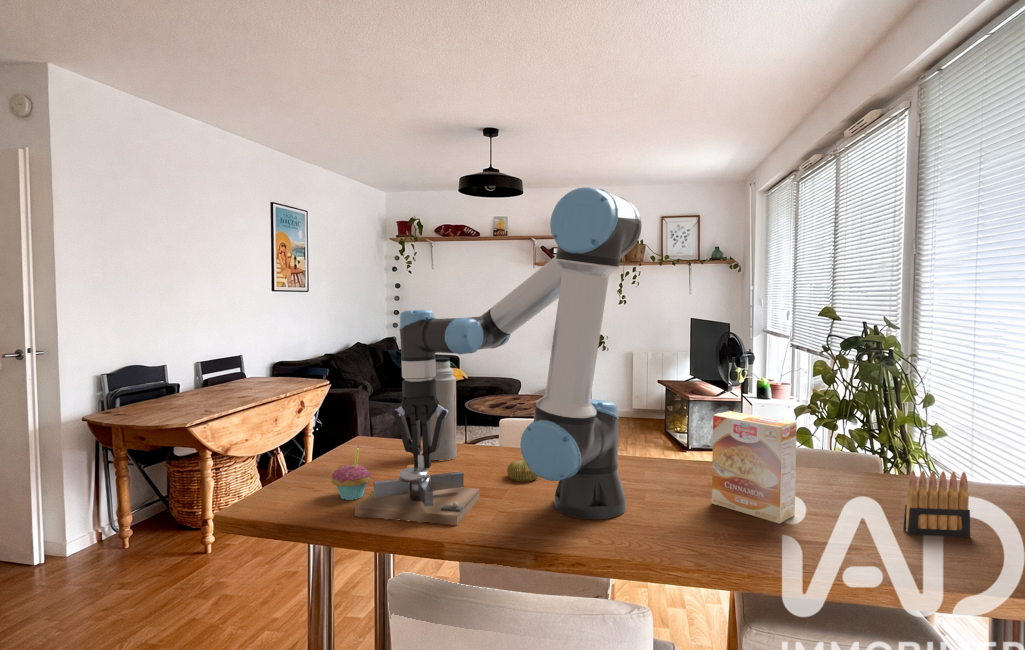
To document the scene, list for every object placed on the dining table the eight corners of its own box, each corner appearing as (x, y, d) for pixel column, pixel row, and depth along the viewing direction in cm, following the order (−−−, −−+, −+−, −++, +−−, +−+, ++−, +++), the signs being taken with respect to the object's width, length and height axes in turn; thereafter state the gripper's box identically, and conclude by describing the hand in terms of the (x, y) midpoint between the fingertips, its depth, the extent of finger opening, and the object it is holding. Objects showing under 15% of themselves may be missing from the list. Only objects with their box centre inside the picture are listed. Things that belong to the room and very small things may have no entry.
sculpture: (517, 456, 148) (545, 460, 144) (517, 471, 148) (545, 476, 144) (501, 464, 141) (529, 469, 137) (501, 480, 141) (529, 486, 137)
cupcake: (377, 492, 133) (377, 440, 132) (358, 505, 125) (357, 450, 124) (344, 488, 135) (344, 438, 135) (323, 501, 127) (322, 447, 127)
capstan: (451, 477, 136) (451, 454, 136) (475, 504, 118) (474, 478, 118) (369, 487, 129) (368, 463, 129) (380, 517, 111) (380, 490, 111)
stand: (479, 497, 129) (479, 481, 129) (457, 525, 114) (456, 507, 113) (386, 490, 134) (386, 475, 134) (352, 516, 118) (352, 499, 118)
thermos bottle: (458, 453, 165) (457, 356, 164) (454, 461, 157) (453, 359, 156) (430, 453, 166) (429, 356, 164) (425, 461, 158) (424, 359, 156)
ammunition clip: (908, 534, 108) (910, 471, 108) (903, 530, 110) (904, 468, 109) (970, 537, 107) (972, 473, 106) (964, 533, 109) (966, 470, 108)
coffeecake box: (710, 503, 125) (711, 414, 124) (727, 496, 129) (729, 410, 128) (779, 524, 113) (781, 426, 112) (796, 515, 118) (797, 421, 117)
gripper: (451, 375, 132) (454, 477, 133) (397, 376, 134) (401, 476, 135) (442, 380, 125) (446, 488, 126) (385, 381, 126) (390, 487, 128)
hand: (423, 482), depth 130 cm, fingers closed
